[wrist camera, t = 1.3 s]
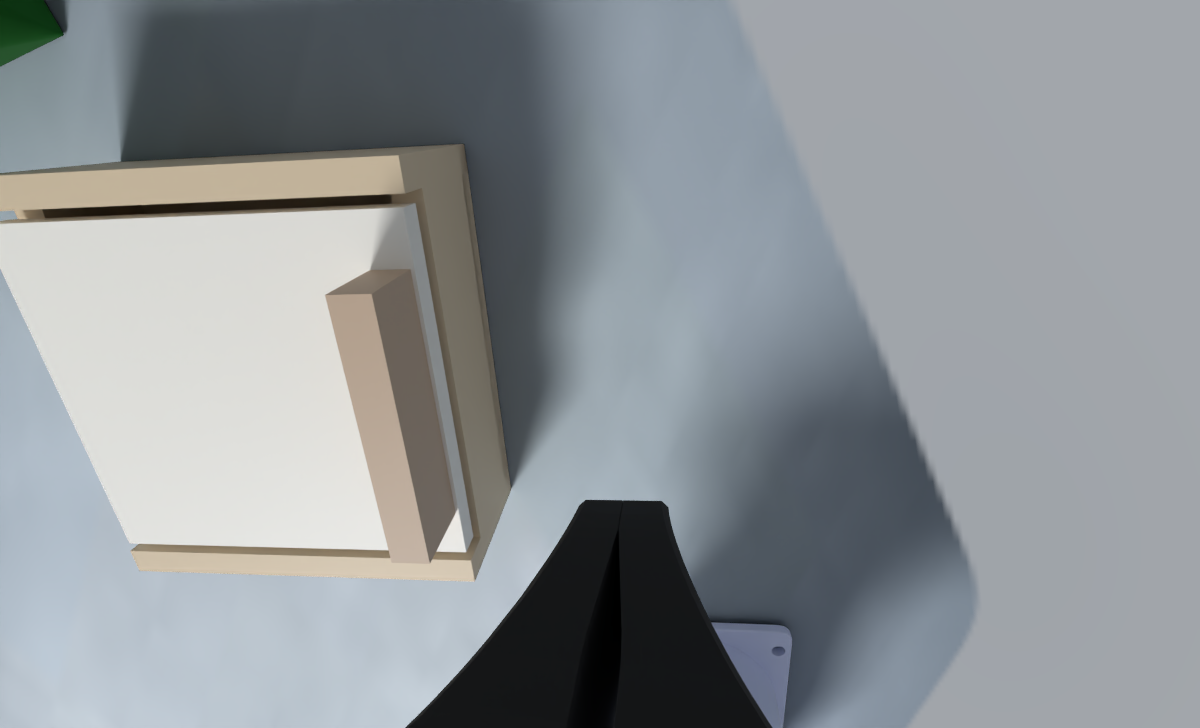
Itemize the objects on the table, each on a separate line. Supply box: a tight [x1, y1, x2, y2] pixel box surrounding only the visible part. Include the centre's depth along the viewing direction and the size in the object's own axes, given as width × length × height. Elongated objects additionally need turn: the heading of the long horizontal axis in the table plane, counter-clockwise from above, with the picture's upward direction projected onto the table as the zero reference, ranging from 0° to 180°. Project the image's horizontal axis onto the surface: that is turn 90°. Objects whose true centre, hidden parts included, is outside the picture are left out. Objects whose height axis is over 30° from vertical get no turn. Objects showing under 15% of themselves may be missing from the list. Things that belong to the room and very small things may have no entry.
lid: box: [0, 203, 473, 564], centre depth 15 cm, size 10×11×3 cm
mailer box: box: [0, 144, 511, 582], centre depth 18 cm, size 12×11×5 cm
